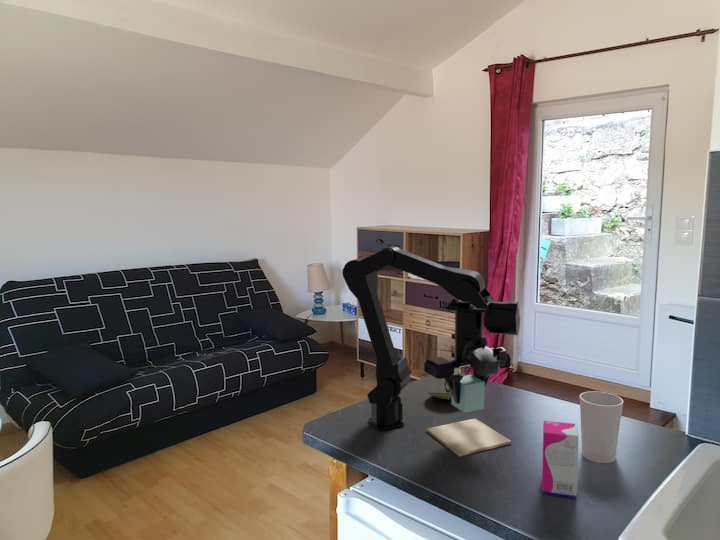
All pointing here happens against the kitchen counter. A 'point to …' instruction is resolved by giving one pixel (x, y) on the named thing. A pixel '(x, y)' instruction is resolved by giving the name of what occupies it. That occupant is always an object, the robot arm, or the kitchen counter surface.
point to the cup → (600, 425)
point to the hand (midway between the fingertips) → (467, 401)
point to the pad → (468, 437)
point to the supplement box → (560, 459)
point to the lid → (442, 394)
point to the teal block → (470, 394)
